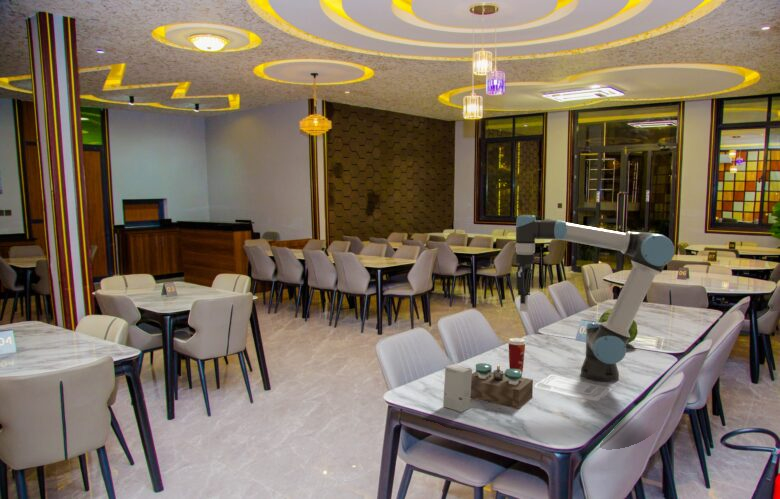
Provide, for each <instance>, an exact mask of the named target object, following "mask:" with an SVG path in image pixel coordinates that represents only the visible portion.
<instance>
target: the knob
mask: <svg viewBox="0 0 780 499" xmlns="http://www.w3.org/2000/svg"><path fill="white" fill-rule="evenodd" d="M492 369H493V368H492V365H491V364H489V363H483V362H481V363H480V362H479V363H475V372H476V371H477V372H478V378H483V379H488V378H489V373H490V372H493V371H492Z"/></svg>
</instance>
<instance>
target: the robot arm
mask: <svg viewBox="0 0 780 499" xmlns="http://www.w3.org/2000/svg"><path fill="white" fill-rule="evenodd" d="M515 223H516V225H515V244H514V247H515V256H514V257H515V260H514V261H515V263H516V264H518V265H519V266H518V270H517V271H516V272H515V275H516V283H517V285H516V286H517V296H519V312H524V313H527V312H528V306H529V305H528V304H529V296H531V285H532V278H533V276H532V275H533V272H534V270H533V269H532V268H531V264H534V263H535V260H536V259H535V256H536V255H535V252H536V240H556V241H558V240H560V241H561V240H562V241H566V242H571V243H577V244H582V245H587V246H588V245H589V246H592V247H598V248H602V249H608V250H614V251H620V252H621V254H623V255H627V256H630V257H632V258H631V260H630V262H631V265H632V268H631V270H630V272H629V273H628V276H627V278H626V280H625V282H624V284H623V287H622V289H621V290H620V292H619V295H618V297H617V298H616V301H615V303H614V305H613V308H611V309H612V311H611V313H610V316H609V318H608V320H607V321H606V322H603V323H601V322H599V321H598V322H596V321H595V322H593V321H591V322H588V323H587V324H586V329H585V331H586V336H585V337H586V339H585V358H584V360H583V362H582V363H583V364H582V366H581V368H580V375H581V377H583V378H585V379H587V380H590V381H591V380H592V381H596V382H604V383H605V382H607V383H608V382H616V381H618V380H620V379H619V376H620V373H619V369H618V365H617V364H618V363H620V362H621V361H622V360H623V359H624V358H625V357H626V355H627V345H628V344H627V342H628V340H629V338H630V334H629V331H628V330H629V328H630V326H631V324H632V322H633V320H634V321H635V318H636V316H637V314H638V312H639V310H640V307H641V306H642V303H643V301H644V299H645V297H646V295H647V293H648V292H649V289H650V287H651V285H652V283H653V281H654V278H655V277H656V275H657V276H658V275H660V274H662V272H663V271H664V269H665V266H666V265H667V264H668V263H670V262H671V261H672V260H673V258H674V256H675V252H676V251H675V246H674V243H673V242H672V240H671V239H670V238H669V237H667V236H666V235H664V234H660V233H654V232H639V231H638V232H637V231H629V230H628V231H627V230H626V231H625V232H621V231H616V230H610V229H604V228H600V227H594V226H587V225H581V224H577V223H572V222H566V221H565V220H559V219H558V220H553V219H551V218H547V219H543V220H538V219H536V215H529V214H528V215H526V214H525V215H518V216H517V217H516V222H515Z"/></svg>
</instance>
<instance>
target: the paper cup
mask: <svg viewBox="0 0 780 499" xmlns="http://www.w3.org/2000/svg"><path fill="white" fill-rule="evenodd" d="M507 343H508V361H509V364H508V366H509V369H519V370H521V371H522V373H523V371H524V362H525V351H526V350H525V348H526V344H527V342H526V341H525V339H524V338H520V337H511V338H509V339H508V341H507Z"/></svg>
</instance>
